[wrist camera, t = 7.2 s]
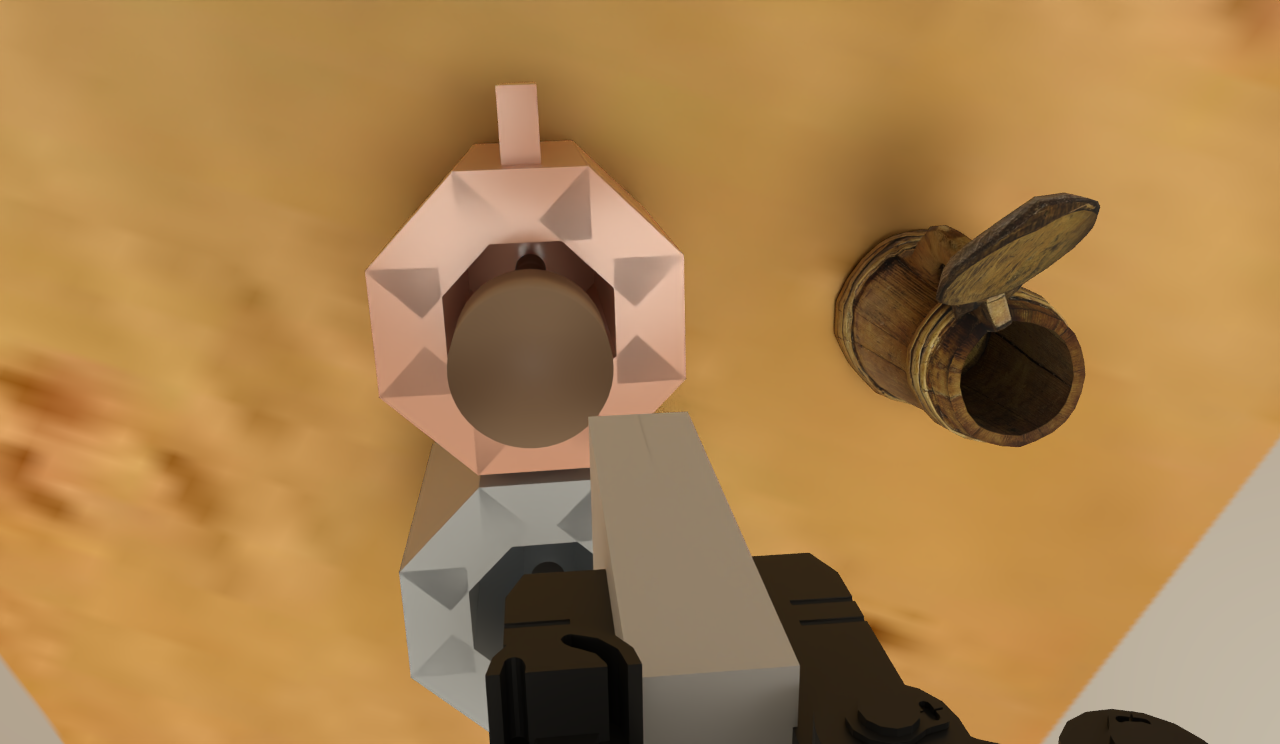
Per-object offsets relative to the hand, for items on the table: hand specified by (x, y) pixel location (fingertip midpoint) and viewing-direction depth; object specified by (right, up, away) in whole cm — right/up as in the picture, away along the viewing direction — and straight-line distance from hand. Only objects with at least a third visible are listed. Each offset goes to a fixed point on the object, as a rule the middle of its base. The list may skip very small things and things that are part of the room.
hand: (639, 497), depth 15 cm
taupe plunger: (-5, +7, +30) cm, 31 cm away
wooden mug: (+14, +7, +36) cm, 39 cm away
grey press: (-5, -5, +37) cm, 38 cm away
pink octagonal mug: (-5, +9, +33) cm, 34 cm away
